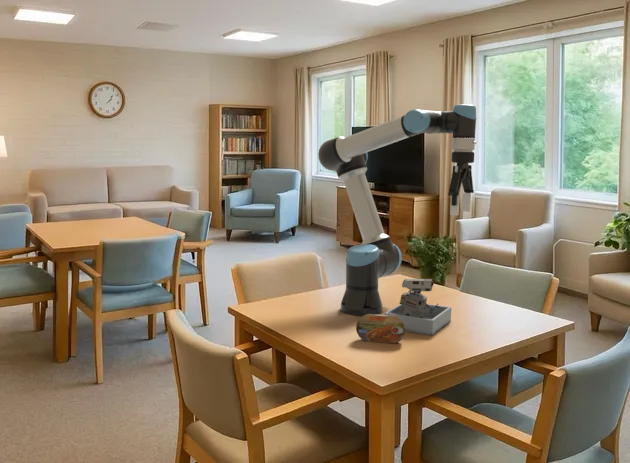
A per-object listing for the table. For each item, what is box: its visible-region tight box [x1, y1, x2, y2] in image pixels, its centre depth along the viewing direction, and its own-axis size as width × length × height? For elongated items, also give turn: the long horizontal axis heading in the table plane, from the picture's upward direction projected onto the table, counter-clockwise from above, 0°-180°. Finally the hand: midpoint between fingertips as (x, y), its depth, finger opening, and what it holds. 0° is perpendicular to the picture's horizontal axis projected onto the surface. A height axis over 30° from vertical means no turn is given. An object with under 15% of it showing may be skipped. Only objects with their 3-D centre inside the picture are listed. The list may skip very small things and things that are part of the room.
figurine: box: [398, 278, 439, 318], centre depth 211 cm, size 9×12×15 cm
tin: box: [355, 314, 406, 344], centre depth 194 cm, size 15×3×8 cm, turn 77°
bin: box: [384, 303, 452, 337], centre depth 212 cm, size 17×19×5 cm
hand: (460, 213), depth 217 cm, fingers open, 13 cm apart
